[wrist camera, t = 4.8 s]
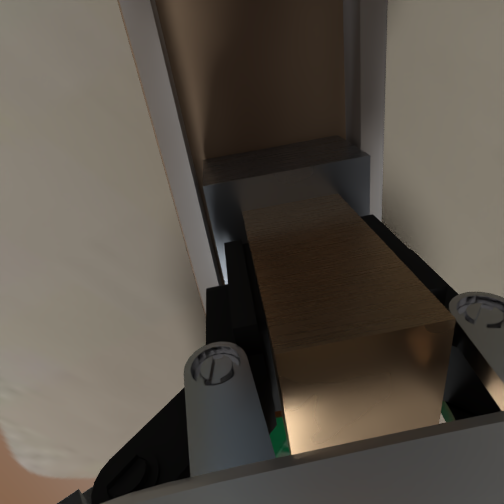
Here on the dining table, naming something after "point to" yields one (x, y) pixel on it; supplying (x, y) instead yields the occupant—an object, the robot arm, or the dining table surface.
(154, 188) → the dining table surface
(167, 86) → the rail
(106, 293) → the dining table surface
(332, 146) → the carriage
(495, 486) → the robot arm
